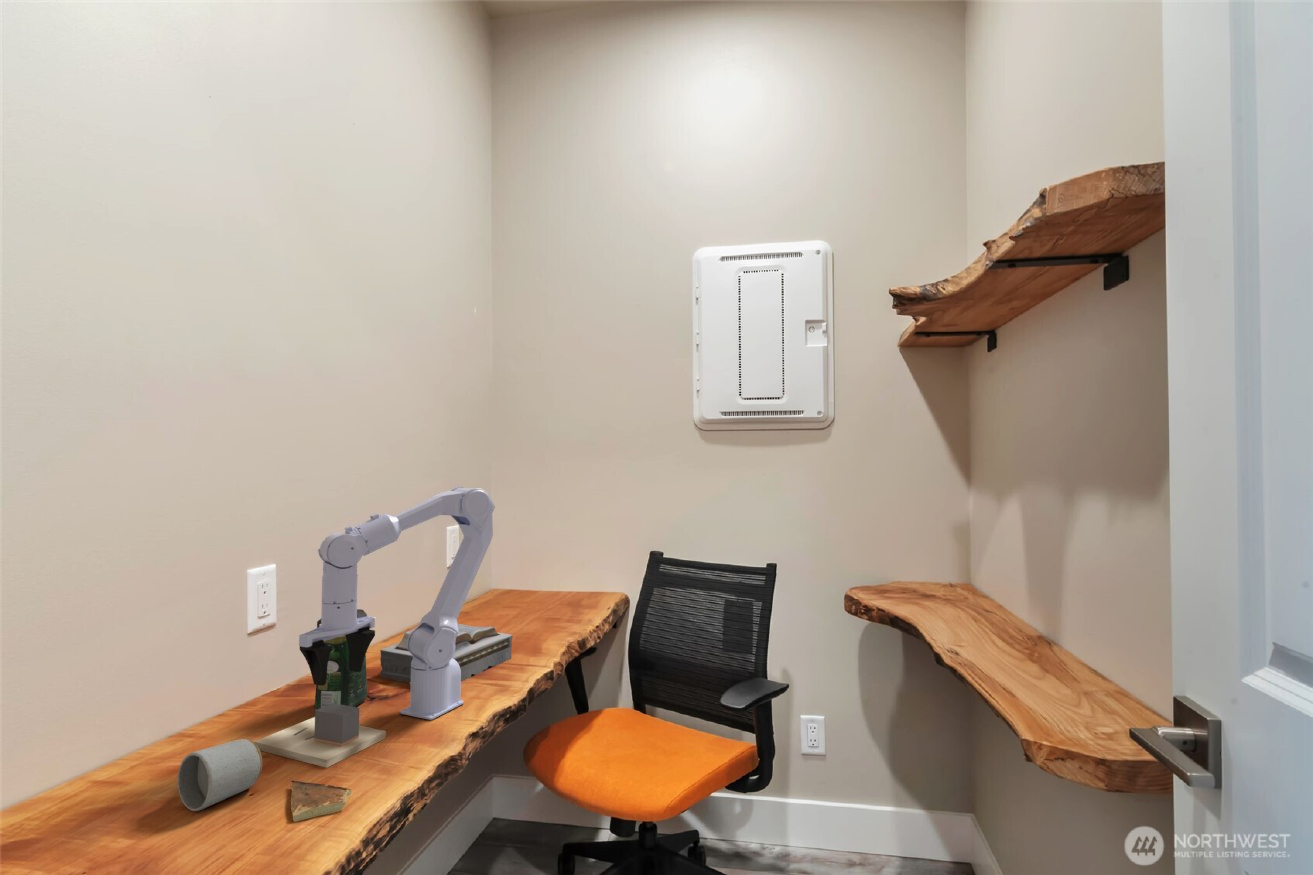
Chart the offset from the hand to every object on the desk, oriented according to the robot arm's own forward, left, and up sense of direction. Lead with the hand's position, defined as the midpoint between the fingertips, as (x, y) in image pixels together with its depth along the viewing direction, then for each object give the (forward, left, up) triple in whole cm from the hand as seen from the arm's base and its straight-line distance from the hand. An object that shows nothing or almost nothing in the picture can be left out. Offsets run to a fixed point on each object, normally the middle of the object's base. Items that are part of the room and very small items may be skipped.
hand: (338, 677), depth 115 cm
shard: (+19, +16, -11) cm, 27 cm away
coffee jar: (-10, -11, -10) cm, 18 cm away
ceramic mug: (+23, +2, -10) cm, 25 cm away
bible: (-38, -8, -10) cm, 40 cm away
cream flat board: (+4, +1, -10) cm, 11 cm away
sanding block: (+4, +4, -9) cm, 10 cm away
